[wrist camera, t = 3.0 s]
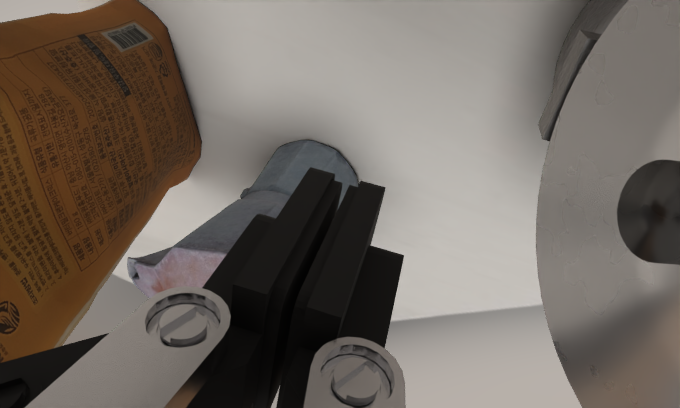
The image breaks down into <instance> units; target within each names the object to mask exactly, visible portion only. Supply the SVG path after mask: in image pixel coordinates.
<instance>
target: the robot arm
mask: <svg viewBox="0 0 680 408" xmlns="http://www.w3.org/2000/svg"><path fill="white" fill-rule="evenodd" d="M341 191H342V182H338V181H335V174H334V173H330V172H327V171H323V170H320V169H316V168H312V167H310V168H309V169H308V171H307V172H306V174H305V175H304V177H303V178H302V180H301V181H300V183H299V184H298V186H297V187H296V189H295V190H294V192H293V193H292V195H291V196H290V198H289V199H288V201H287V203H286V204H285V206H284V207H283V209H282V210H281V212H280V213H279V215H278V216H277V218H274V217H270V216H267V215H263V214H257V215H256V216H255V217H254V218H253V219H252V221H251V222H250V223H249V225H248V226H247V227H246V229H245V230H244V232H243V233H242V234H241V236H240V237H239V238H238V240H237V241H236V242H235V244H234V245H233V246H232V248H231V249H230V251H229V252H228V253H227V255H226V256H225V257H224V259H223V260H222V261H221V263H220V264H219V266H218V267H217V268H216V270H215V271H214V272H213V274H212V275H211V276H210V278H209V279H208V280H207V282H206V283H205V285H204V286H203V287H202V288H199V287H188V286H183V287H176V288H170V289H167V290H165V291H162V292H159V293H157V294H155V295H154V296H152V297H151V298H149V299H148V300H146V301H145V302H144V303H143V304H142V305H141V306H140V307H138V308H137V309H136V310H135V311H134V312H133V313H132V314H131V315H130V316H128V317H127V318H126V319H125V320H124V321H122V323H120V324H119V325H118V326H117V327H116V328H115V329H113V330H112V331H111V332H110V333H108V334H104V335H100V336H97V337H93V338H89V339H86V340H82V341H78V342H75V343H71V344H68V345H64V346H60V347H57V348H53V349H49V350H46V351H42V352H38V353H35V354H31V355H27V356H24V357H20V358H17V359H13V360H9V361H6V362H2V363H0V408H271V405H272V403H273V400H274V398H275V396H276V393H277V391H278V389H279V386H280V389H279V396H278V401H277V407H276V408H406V405H405V381H404V377H403V372H402V369H401V368H400V366H399V364H398V362H397V361H396V359H395V358H394V357H393V356H392V355H391V354H390V353H389V352H388V351H387V350H386V349H385V344H386V339H387V334H388V329H389V325H390V320H391V315H392V310H393V306H394V301H395V296H396V291H397V287H398V282H399V277H400V272H401V268H402V263H403V258H404V255H401V254H398V253H394V252H391V251H387V250H384V249H380V248H377V247H374V246H370V245H371V241H372V237H373V234H374V230H375V226H376V222H377V218H378V215H379V211H380V207H381V203H382V200H383V196H384V192H385V187H381V186H378V185H374V184H370V183H367V182H363V181H361V182H360V184H359V186H358V187H356V186H353V185H349V187H348V189H347V191H346V193H345V195H344V198H343V200H342V202H341V204H340V206H339V208H338V205H339V200H340V195H341Z"/></svg>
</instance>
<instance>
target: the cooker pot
mask: <svg viewBox="0 0 680 408" xmlns="http://www.w3.org/2000/svg"><path fill="white" fill-rule="evenodd" d="M627 1H628V0H590V1H589V2H588V4H587V5H586V6H585V7H584V9H583V10H582V12H581V13H580V15H579V16H578V18H577V19H576V21H575V22H574V24H573V25H572V27H571V29H570V31H569V33H568V35H567V37H566V39H565V42H564V44H563V46H562V49H561V52H560V55H559V58H558V61H557V65H556V70H555V75H554V83H553V91H552V94H551V96H550V98H549V101H548V103H547V105H546V108H545V110H544V112H543V115H542V117H541V119H540V122H539V124H538V126H539V129H540V133H541V136H542V139H543V140H547V141H550V140H551V137H552V134H553V130H554V127H555V124H556V121H557V119H558V116H559V114H560V111H561V109H562V106H563V104H564V101H565V99H566V97H567V94H568V92H569V90H570V88H571V86H572V84H573V82H574V80H575V78H576V76H577V74H578V72H579V70H580V69H581V67H582V65H583V64H584V62H585V60H586V59H587V57H588V55H589V54H590V52H591V50H592V49H593V47H594V45H595V44H596V42H597V41H598V39H599V38H600V37H601V35H602V34H603V32H604V31H605V30H606V28H607V27H608V25H609V24H610V23H611V21H612V20H613V18H614V17H615V16H616V15H617V13H618V12H619V11H620V10H621V9H622V7H623V6H624V5H625V4H626V3H627Z"/></svg>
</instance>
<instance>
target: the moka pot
mask: <svg viewBox="0 0 680 408" xmlns="http://www.w3.org/2000/svg"><path fill="white" fill-rule="evenodd" d="M310 167H312V168H316V169H320V170H323V171H327V172H330V173H334V174H335V181H338V182H342V191H341V195H340V200H339V205H338V208H339V206H340V204H341V202H342V200H343V198H344V195H345V193H346V191H347V189H348V187H349V185H353V186H356V187H358V181H357V177H356V175H355V173H354V171H353V169H352V168H351V167H350V165H349V164H348V163H347V161H346V160H345V159H344V158H343V157H342V156H341V155H340V153H339V152H337V151H336V150H334V149H333V148H331V147H328V146H326V145H323V144H320V143H317V142H315V141H309V140H301V141H296V142H291V143H289V144H285V145H283V146H281V147H279V148H278V149H277V150H276V151H275V153H274V154H273V156H272V157H271V159H270V160H269V162H268V163H267V165H266V166H265V168H264V169H263V171H262V172H261V174H260V175H259V177H258V178H257V180H256V181H255V183H254V184H253V186H252V187H250V188H247V189H245V190H243V192H242V194H241V195H240V197H241V200H237V201H235V202H234V203H232V204H231V205H229V206H228V207H226V208H225V209H224V210H222V211H221V212H220V213H218V214H217V215H216V216H214V217H213V218H211V219H210V220H208V221H207V222H206V223H204V224H203V225H202V226H200V227H199V228H197V229H196V230H195V231H193V232H192V233H190V234H189V235H188V236H186V237H185V238H184V239H182V240H181V241H179V242H178V243H177V244H175V245H174V246H173V247H170V248H167V249H165V250H162V251H159V252H156V253H153V254H150V255H147V256H144V257H139V258H130V257H128V262H127V267H128V273H129V277H130V278H131V279H132V280H133V283H134V284H135V285H136V287H137V288H138V289H140V290H141V291H142V292H143V293H144V294H145V295H146V296H147V297H148V298H151V297H152V296H154V295H155V294H157V293H159V292H162V291H165V290H167V289H170V288H176V287H183V286H188V287H199V288H202V287H203V286H204V285H205V283H206V282H207V280H208V279H209V278H210V276H211V275H212V274H213V272H214V271H215V270H216V268H217V267H218V266H219V264H220V263H221V261H222V260H223V259H224V257H225V256H226V255H227V253H228V252H229V251H230V249H231V248H232V246H233V245H234V244H235V242H236V241H237V240H238V238H239V237H240V236H241V234H242V233H243V232H244V230H245V229H246V227H247V226H248V225H249V223H250V222H251V221H252V219H253V218H254V217H255V216H256V215H257V214H263V215H267V216H270V217H274V218H277V216H278V215H279V213H280V212H281V210H282V209H283V207H284V206H285V204H286V203H287V201H288V199H289V198H290V196H291V195H292V193H293V192H294V190H295V189H296V187H297V186H298V184H299V183H300V181H301V180H302V178H303V177H304V175H305V174H306V172H307V171H308V169H309V168H310Z"/></svg>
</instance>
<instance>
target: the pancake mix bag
mask: <svg viewBox="0 0 680 408" xmlns="http://www.w3.org/2000/svg"><path fill="white" fill-rule="evenodd" d="M201 144H202V142H201V138H200V135H199V132H198V129H197V125H196V122H195V119H194V116H193V113H192V110H191V106H190V103H189V100H188V96H187V93H186V90H185V87H184V84H183V81H182V78H181V75H180V72H179V69H178V66H177V62H176V59H175V55H174V51H173V47H172V43H171V40H170V37H169V33H168V30H167V28H166V26H165V25H164V24H163V23H162V22H161V21H160V19H159V18H158V17H157V16H156V15H155V14H154V13H153V12H152V11H151V10H149V9H148V8H147V7H145V6H144V5H143V4H141V3H140V2H139V1H137V0H110V1H108V2H107V3H105V4H103V5H100V6H98V7H95V8H93V9H90V10H86V11H83V12H79V13H71V14H57V13H50V14H45V15H41V16H35V17H30V18H24V19H18V20H12V21H7V22H2V23H0V363H2V362H6V361H9V360H13V359H17V358H20V357H24V356H27V355H31V354H35V353H38V352H42V351H46V350H49V349H53V348H57V347H60V346H62V345H63V344H64V342H65V341H66V339H67V338H68V337H69V335H70V334H71V333H72V331H73V330H74V328H75V327H76V326H77V324H78V323H79V321H80V320H81V319H82V318H83V316H84V315H85V314H86V313H87V311H88V310H89V308H90V306H91V304H92V302H93V301H94V299H95V297H96V295H97V293H98V291H99V290H100V289H101V288H102V286H103V285H104V284H105V282H106V281H107V280H108V278H109V277H110V275H111V274H112V272H113V271H114V269H115V268H116V266H117V265H118V263H119V262H120V260H121V259H122V257H123V256H124V254H125V253H126V252H127V250H128V248H129V247H130V245H131V244H132V242H133V241H134V239H135V238H136V237H137V236H138V234H139V233H140V232H141V231H142V229H143V228H144V227H145V225H146V224H147V223H148V221H149V220H150V218H151V217H152V215H153V213H154V212H155V210H156V209H157V207H158V205H159V204H160V202H161V200H162V199H163V197H164V196H165V194H166V193H167V191H168V190H169V188H171V187H173V186H175V185H178V184H179V183H181V182H183V181H185V180H187V178H188V177H189V175H190V173H191V171H192V169H193V167H194V166H195V164H196V163H197V161H198V160H199V158H200V155H201Z"/></svg>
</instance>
